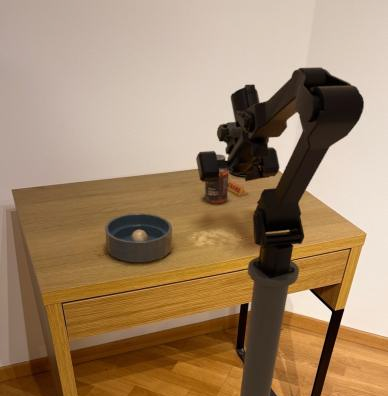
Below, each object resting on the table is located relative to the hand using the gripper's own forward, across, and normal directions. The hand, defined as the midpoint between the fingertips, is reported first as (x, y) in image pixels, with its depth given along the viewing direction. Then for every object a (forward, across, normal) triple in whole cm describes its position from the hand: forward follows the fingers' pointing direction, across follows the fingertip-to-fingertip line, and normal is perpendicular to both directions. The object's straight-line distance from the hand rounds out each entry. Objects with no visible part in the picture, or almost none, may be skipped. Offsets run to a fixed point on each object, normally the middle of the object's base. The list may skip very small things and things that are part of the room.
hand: (228, 180), depth 120 cm
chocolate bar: (+16, -6, -5) cm, 18 cm away
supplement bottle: (+11, 0, 0) cm, 11 cm away
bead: (-6, +25, +14) cm, 29 cm away
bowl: (-5, +25, +16) cm, 30 cm away
